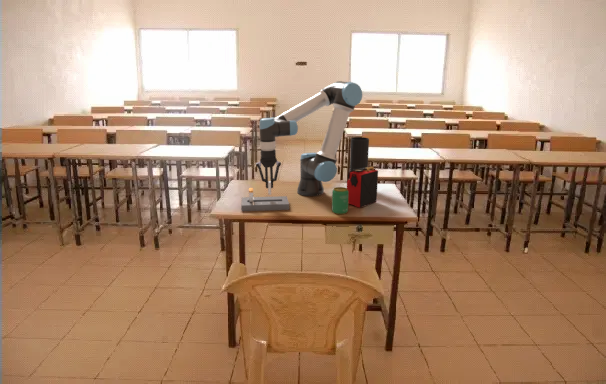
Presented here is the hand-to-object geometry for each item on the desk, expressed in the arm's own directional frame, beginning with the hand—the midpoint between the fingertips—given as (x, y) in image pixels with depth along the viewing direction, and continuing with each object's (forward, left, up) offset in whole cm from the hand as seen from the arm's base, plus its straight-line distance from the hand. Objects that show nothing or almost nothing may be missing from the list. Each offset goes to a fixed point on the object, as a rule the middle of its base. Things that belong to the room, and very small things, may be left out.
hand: (269, 194), depth 237 cm
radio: (-48, +1, -7) cm, 49 cm away
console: (+3, +1, -6) cm, 7 cm away
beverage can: (-34, +14, -7) cm, 38 cm away
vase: (-53, -27, -7) cm, 60 cm away
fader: (+10, +1, -6) cm, 11 cm away
